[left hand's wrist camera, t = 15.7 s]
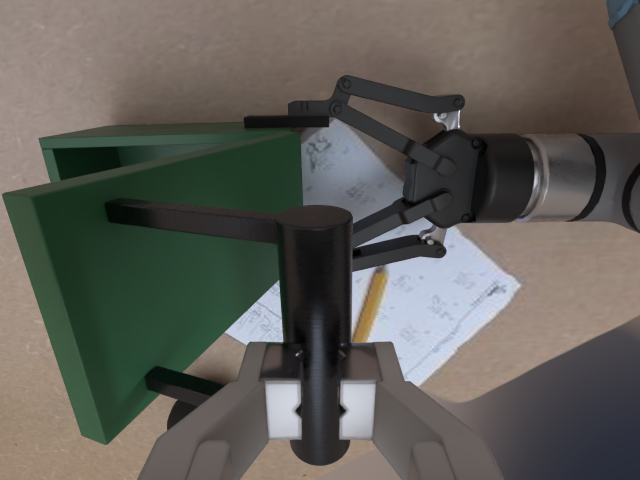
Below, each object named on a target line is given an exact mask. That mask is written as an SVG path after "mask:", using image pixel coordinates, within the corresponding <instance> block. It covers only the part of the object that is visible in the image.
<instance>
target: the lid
mask: <svg viewBox="0 0 640 480" xmlns="http://www.w3.org/2000/svg"><path fill="white" fill-rule="evenodd" d="M2 197H3V200H4V203H5V206H6V209H7V212H8V215H9V218H10V221H11V224H12V227H13V230H14V233H15V236H16V239H17V242H18V245H19V248H20V251H21V254H22V257H23V260H24V263H25V266H26V269H27V272H28V275H29V278H30V281H31V284H32V287H33V290H34V293H35V296H36V299H37V302H38V305H39V308H40V312H41V315H42V318H43V321H44V324H45V327H46V330H47V333H48V336H49V339H50V342H51V345H52V348H53V351H54V354H55V357H56V360H57V363H58V366H59V369H60V372H61V375H62V378H63V381H64V384H65V387H66V390H67V393H68V396H69V399H70V402H71V405H72V408H73V411H74V414H75V417H76V420H77V423H78V426H79V429H80V432H81V435H82V436H84V437H87V438H89V439H92V440H94V441H97V442H99V443H102V444H104V445H107V444H109V443H110V442H111V441H112V440H113V439H114V438H115V437H116V436H117V435H118V434H119V433H120V432H121V431H122V430H123V429H124V428H125V427H126V426H127V425H128V424H129V423H130V422H131V421H132V420H134V419H135V418H136V417H137V416H138V415H139V414H140V413H141V412H142V411H143V410H144V409H145V408H146V407H147V406H148V405H149V404H150V403H151V402H152V401H153V400H154V399H155V398H156V397H157V396H158V395H160V394H162V395H165V396H168V397H172V398H175V399H178V400H181V401H184V402H187V403H190V404H194V405H197V406H200V405H201V404H202V403H204V402H205V401H206V400H208V399H209V398H210V397H212V396H213V395H214V394H215V393H217V392H218V391H219V390H221V389H222V388H223V387H224V386H226V385H223V384H220V383H216V382H213V381H209V380H206V379H202V378H199V377H195V376H192V375H188V374H185V373H182V372H183V371H185V370H186V369H187V368H188V367H189V366H190V365H191V364H192V363H193V362H194V361H195V360H196V359H197V358H198V357H199V356H200V355H201V354H202V353H203V352H204V351H205V350H206V349H207V348H208V347H209V346H211V345H212V344H213V343H214V342H215V341H216V340H217V339H218V338H219V337H220V336H221V335H222V334H223V333H224V332H225V331H226V330H227V329H228V328H229V327H230V326H231V325H232V324H233V323H234V322H235V321H237V320H238V319H239V318H240V317H241V316H242V315H243V314H244V313H245V312H246V311H247V310H248V309H249V308H250V307H251V306H252V305H253V304H254V303H255V302H256V301H257V300H258V299H259V298H260V297H262V296H263V295H264V294H265V293H266V292H267V291H268V290H269V289H270V288H271V287H272V286H273V285H274V284H275V283H276V282H277V281H278V280H279V282H280V297H281V312H282V327H283V342H299V343H304V367H303V369H304V405H303V426H302V439H298V440H290V444H291V448H292V450H293V452H294V453H295V455H296V456H297V457H298V458H299V459H301V460H302V461H304V462H305V463H308V464H311V465H316V466H323V465H328V464H332V463H334V462H336V461H338V460H339V459H340V458H341V457H343V455H344V454H345V453H346V451H347V450H348V448H349V445H350V440H342V439H339V426H338V405H337V343H351V329H352V241H353V216H352V214H351V213H350V212H349V211H347V210H345V209H342V208H339V207H334V206H327V205H307V206H303V193H302V167H301V140H300V132H281V133H276V134H272V135H267V136H262V137H258V138H253V139H249V140H244V141H240V142H235V143H230V144H226V145H221V146H217V147H212V148H208V149H203V150H198V151H194V152H189V153H185V154H180V155H176V156H171V157H166V158H162V159H157V160H153V161H148V162H144V163H139V164H134V165H130V166H125V167H121V168H116V169H112V170H107V171H102V172H98V173H93V174H89V175H84V176H80V177H75V178H70V179H66V180H61V181H57V182H52V183H48V184H43V185H38V186H34V187H29V188H25V189H20V190H16V191H11V192H6V193H4V194H2Z"/></svg>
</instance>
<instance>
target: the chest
mask: <svg viewBox="0 0 640 480" xmlns="http://www.w3.org/2000/svg"><path fill="white" fill-rule="evenodd" d="M281 132H292V129H291V127H275V128H245V127H244V122H227V123H190V124H153V125H116V126H104V127H98V128H93V129H87V130H81V131H76V132H70V133H65V134H59V135H54V136H48V137H42V138H39V142H40V145H41V148H42V153H43V156H44V160H45V163H46V167H47V170H48V174H49V177H50V181H51V183H52V182H57V181H61V180H66V179H70V178H75V177H80V176H84V175H89V174H93V173H98V172H102V171H107V170H112V169H116V168H121V167H125V166H130V165H134V164H139V163H144V162H148V161H153V160H157V159H162V158H166V157H171V156H176V155H180V154H185V153H189V152H194V151H198V150H203V149H208V148H212V147H217V146H221V145H226V144H230V143H235V142H240V141H244V140H249V139H253V138H258V137H262V136H267V135H272V134H276V133H281Z"/></svg>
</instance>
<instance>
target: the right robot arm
mask: <svg viewBox="0 0 640 480" xmlns="http://www.w3.org/2000/svg"><path fill="white" fill-rule="evenodd" d="M606 4H607V9H608V15H609V21H608V23H609V26H610V29H611V30H613V33H614V37H615V40H616V43H617V47H618V50H619V53H620V56H621V60H622V63H623V66H624V70H625V73H626V76H627V79H628V83H629V86H630V89H631V93H632V96H633V99H634V102H635V106H636V109H637V112H638V116H639V119H640V0H606ZM350 95H354V96H358V97H362V98H366V99H370V100H374V101H378V102H383V103H387V104H391V105H395V106H399V107H403V108H407V109H411V110H415V111H420V112H426V113H430V117H431V119H432V120H433V121H434V122H438V123H441V124H442V125H443V129H444V130H442V131H441V132H439V133H438V134H436V135H435V136H434V137H432V138H431V139H429V140H428V141H427V142H425V143H424V144H422V145H421V144H419V143H417V142H415V141H413V140H411V139H409V138H407V137H405V136H404V135H402V134H400V133H398V132H396V131H394V130H392V129H391V128H389V127H387V126H385V125H383V124H381V123H379V122H378V121H376V120H374V119H372V118H370V117H368V116H366V115H365V114H363V113H361V112H359V111H357V110H355V109H353V108H352V107H350V106H348V105H347V103H348V100H349V98H350ZM464 105H465V99H464V97H463V96H462V95H439V96H428V95H424V94H420V93H416V92H412V91H408V90H404V89H400V88H396V87H392V86H388V85H384V84H380V83H376V82H373V81H369V80H365V79H361V78H357V77H353V76H349V75H345V76H343V77H341V78H339V79H338V81H337V84H336V87H335V90H334V93H333V95H332V97H331V98H330V99H328V100H325V101H293V102H291V103H289V104H288V116H247V117H244V127H245V128H275V127H291V128H295V127H329V117H335V118H337V119H339V120H341V121H343V122H345V123H347V124H349V125H351V126H352V127H354V128H356V129H358V130H360V131H362V132H364V133H366V134H368V135H369V136H371V137H373V138H375V139H377V140H379V141H381V142H383V143H385V144H387V145H388V146H390V147H392V148H394V149H396V150H398V151H400V152H402V153H403V154H405V155H407V156H409V157H408V159H407V160H405V173H406V180H405V183H404V186H403V196H404V197H402V198H400V199H398V200H396V201H395V202H394V203H393V204H392V205H390V206H388V207H386V208H384V209H382V210H380V211H378V212H376V213H374V214H372V215H370V216H368V217H366V218H364V219H362V220H360V221H358V222H356V223H354V224H353V241H352V272H354V271H358V270H363V269H367V268H372V267H376V266H380V265H385V264H389V263H393V262H398V261H402V260H406V259H411V258H415V257H420V256H421V257H431V258H442V257H444V256H445V254H446V248H445V247H444V246H443V243H444V239H445V235H446V230H447V228H450V227H452V226H454V225H456V224H459V223H508V222H512V221H516V222H520V223H526V222H558V221H565V222H573V221H605V222H612V223H616V224H619V225H621V226H624V227H626V228H629V229H631V230H633V231H636V232H638V233H640V133H609V134H523V135H521V136H519V135H517V134H467V133H465V132H464V131H462V130H460V129H459V110H461V109H462V108H463V107H464ZM422 217H424V218H426V219H427V220H428V221H430V222H431V223H433V226H432V227H431V228H430V229H428V230H423V231H421V232H420V234H419V235H409V236H404V237H399V238H395V239H391V240H387V241H382V242H378V243H374V244H369V245H365V246H361V247H357V246H359V245H361V244H363V243H365V242H367V241H369V240H371V239H373V238H376V237H378V236H380V235H382V234H384V233H386V232H388V231H390V230H392V229H394V228H396V227H398V226H400V225H403V224H410V223H412V222H414V221H416V220H418V219H420V218H422ZM355 247H356V248H355Z"/></svg>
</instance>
